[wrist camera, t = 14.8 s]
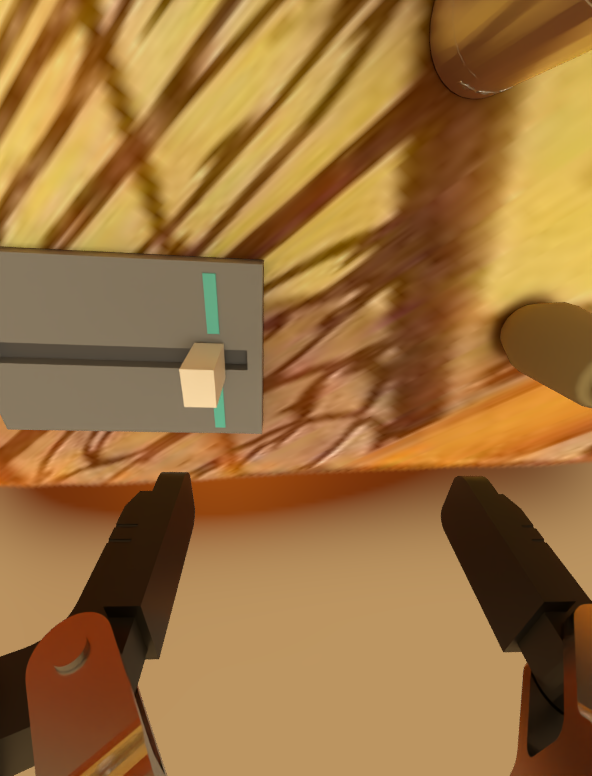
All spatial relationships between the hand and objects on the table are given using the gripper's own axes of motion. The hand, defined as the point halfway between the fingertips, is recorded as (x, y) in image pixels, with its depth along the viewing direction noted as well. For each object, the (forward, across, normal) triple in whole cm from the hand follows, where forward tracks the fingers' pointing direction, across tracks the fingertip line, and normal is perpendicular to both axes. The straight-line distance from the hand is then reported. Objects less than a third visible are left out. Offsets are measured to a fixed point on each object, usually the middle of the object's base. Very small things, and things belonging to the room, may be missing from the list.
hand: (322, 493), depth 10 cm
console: (+28, +18, +8) cm, 34 cm away
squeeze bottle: (+28, -27, +4) cm, 39 cm away
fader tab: (+27, +9, +8) cm, 29 cm away
